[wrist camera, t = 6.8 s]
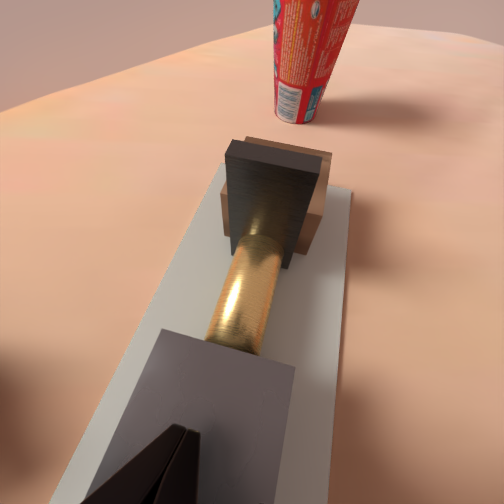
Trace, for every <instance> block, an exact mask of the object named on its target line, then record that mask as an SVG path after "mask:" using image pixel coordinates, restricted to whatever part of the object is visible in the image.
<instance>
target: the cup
mask: <svg viewBox="0 0 504 504" xmlns="http://www.w3.org/2000/svg"><path fill="white" fill-rule="evenodd" d="M273 2H274V3H273V4H274V5H273V6H274V105H275V114H276V116H277V117H278V118H280V119H281V120H283V121H285V122H288V123H293V124H303V123H307V122H310V121H311V120H313V119H314V117H315V115H316V112H317V110H318V107H319V105H320V102H321V99H322V97H323V94H324V92H325V89H326V86H327V84H328V81H329V79H330V76H331V73H332V71H333V68H334V65H335V63H336V60H337V58H338V55H339V52H340V50H341V47H342V45H343V42H344V39H345V37H346V34H347V32H348V29H349V26H350V24H351V21H352V18H353V16H354V13H355V11H356V8H357V6H358V3H359V0H273Z"/></svg>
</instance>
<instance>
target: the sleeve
mask: <svg viewBox="0 0 504 504" xmlns="http://www.w3.org/2000/svg"><path fill="white" fill-rule="evenodd" d="M295 368H296V367H294V366H291V365H287V364H284V363H280V362H277V361H273V360H270V359H266V358H263V357H260V356H256V355H253V354H249V353H246V352H242V351H239V350H235V349H232V348H228V347H225V346H221V345H218V344H215V343H211V342H208V341H204V340H201V339H197V338H194V337H190V336H187V335H183V334H180V333H176V332H173V331H170V330H166V329H163V328H162V329H161V331H160V333H159V335H158V338H157V340H156V342H155V344H154V346H153V349H152V351H151V353H150V355H149V357H148V360H147V362H146V364H145V366H144V368H143V371H142V373H141V375H140V377H139V379H138V382H137V384H136V386H135V388H134V390H133V393H132V395H131V397H130V399H129V401H128V404H127V406H126V408H125V410H124V412H123V415H122V417H121V419H120V421H119V423H118V426H117V428H116V430H115V432H114V434H113V437H112V439H111V441H110V443H109V445H108V448H107V450H106V452H105V454H104V456H103V459H102V461H101V463H100V465H99V467H98V470H97V472H96V474H95V476H94V478H93V481H92V483H91V485H90V487H89V489H88V492H87V494H86V496H85V498H84V499H86V498H87V497H88V496H89V495H90V494H91V493H93V492H94V491H95V490H96V489H97V488H98V487H100V486H101V485H102V484H103V483H104V482H105V481H107V480H108V479H109V478H110V477H111V476H112V475H113V474H115V473H116V472H117V471H118V470H119V469H120V468H122V467H123V466H124V465H125V464H126V463H127V462H129V461H130V460H131V459H132V458H133V457H134V456H136V455H137V454H138V453H139V452H140V451H141V450H143V449H144V448H145V447H146V446H147V445H148V444H149V443H151V442H152V441H153V440H154V439H155V438H156V437H158V436H159V435H160V434H161V433H162V432H163V431H165V430H166V429H167V428H168V427H169V426H170V425H172V424H174V423H175V424H179V425H182V426H185V427H186V429H188V428H191V429H194V430H197V431H200V433H201V446H200V468H199V489H198V504H274V500H275V494H276V487H277V481H278V475H279V468H280V462H281V456H282V449H283V443H284V437H285V431H286V424H287V418H288V412H289V405H290V399H291V393H292V387H293V380H294V374H295Z"/></svg>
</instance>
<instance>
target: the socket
mask: <svg viewBox="0 0 504 504" xmlns="http://www.w3.org/2000/svg"><path fill="white" fill-rule="evenodd" d="M244 142H249V143H254V144H259V145H264V146H269V147H274V148H279V149H284V150H289V151H294V152H300V153H305V154H310V155H315V156H320V157H323V158H322V163H321V169H320V174H319V177H318V180H317V183H316V186H315V189H314V192H313V195H312V198H311V201H310V204H309V207H308V210H307V213H306V216H305V219H304V222H303V225H302V228H301V231H300V234H299V237H298V240H297V243H296V246H295V249H294V253H298V254H302V255H307V253H308V250H309V248H310V245H311V243H312V241H313V238H314V236H315V234H316V231H317V229H318V226H319V224H320V222H321V219H322V217H323V212H324V205H325V198H326V192H327V185H328V178H329V172H330V165H331V158H332V153H330V152H325V151H320V150H314V149H309V148H304V147H299V146H294V145H289V144H284V143H279V142H274V141H268V140H263V139H258V138H253V137H248V136H246V138H245V140H244ZM220 198H221V208H222V219H223V229H224V236H227V237H230V229H229V214H228V198H227V182H226V181H225V184H224V186H223V188H222V190H221V192H220Z"/></svg>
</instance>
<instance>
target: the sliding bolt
mask: <svg viewBox="0 0 504 504" xmlns="http://www.w3.org/2000/svg"><path fill="white" fill-rule="evenodd" d="M322 158H323V157H320V156H315V155H310V154H305V153H300V152H294V151H289V150H284V149H279V148H274V147H269V146H264V145H259V144H254V143H249V142H244V141H239V140H234V139H232V141H231V143H230V145H229V147H228V149H227V151H226V153H225V166H226V182H227V198H228V214H229V229H230V245H231V256H233V259H232V262H231V265H230V267H229V270H228V273H227V276H226V279H225V281H224V284H223V287H222V290H221V293H220V295H219V298H218V301H217V304H216V307H215V309H214V312H213V315H212V318H211V321H210V323H209V326H208V329H207V332H206V335H205V337H204V341H208V342H211V343H215V344H218V345H221V346H225V347H228V348H232V349H235V350H239V351H242V352H246V353H249V354H253V355H256V356H260V353H261V349H262V344H263V340H264V336H265V331H266V327H267V323H268V319H269V314H270V310H271V306H272V302H273V297H274V293H275V289H276V284H277V280H278V276H279V272H280V268H283V269H287V270H288V268H289V265H290V262H291V258H292V255H293V252H294V249H295V246H296V243H297V240H298V237H299V234H300V231H301V228H302V225H303V222H304V219H305V216H306V213H307V210H308V207H309V204H310V201H311V198H312V195H313V192H314V189H315V186H316V183H317V180H318V177H319V174H320V169H321V163H322Z"/></svg>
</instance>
